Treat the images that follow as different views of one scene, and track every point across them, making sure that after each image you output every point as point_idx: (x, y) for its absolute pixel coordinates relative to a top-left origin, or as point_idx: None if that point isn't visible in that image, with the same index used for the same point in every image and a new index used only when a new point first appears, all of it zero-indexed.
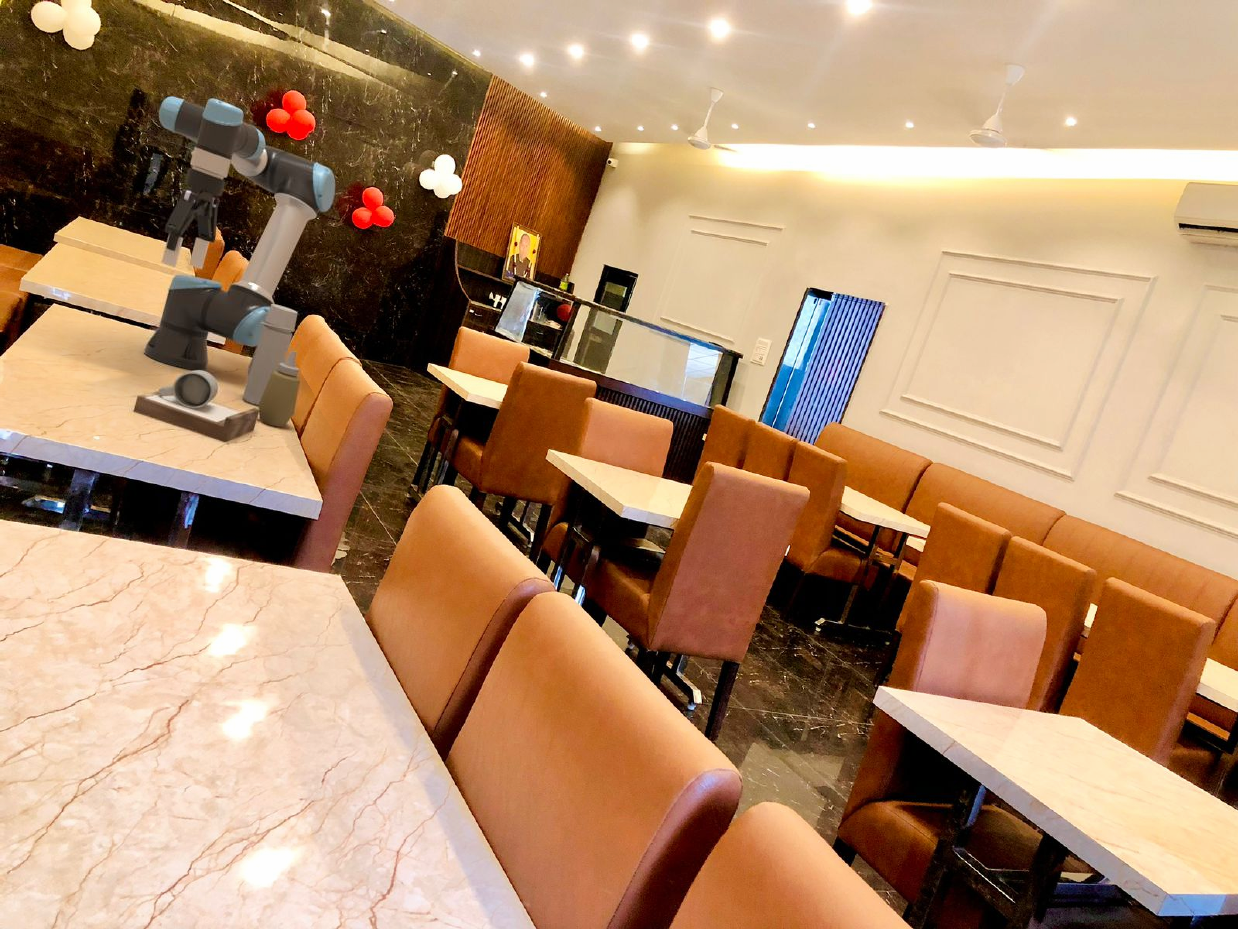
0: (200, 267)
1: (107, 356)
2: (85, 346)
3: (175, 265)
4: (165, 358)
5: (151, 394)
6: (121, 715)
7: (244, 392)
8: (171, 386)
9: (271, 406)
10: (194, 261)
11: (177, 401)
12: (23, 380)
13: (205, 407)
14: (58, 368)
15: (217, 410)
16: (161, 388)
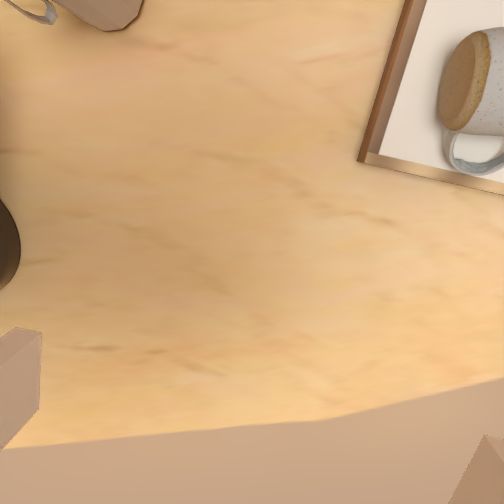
0: (34, 341)
1: (121, 330)
2: (97, 370)
3: (499, 446)
4: (12, 250)
5: (489, 184)
6: None
7: (117, 23)
8: (453, 156)
9: None
10: (12, 410)
11: None
12: (474, 368)
13: None
14: (327, 357)
15: (480, 26)
16: (472, 172)
